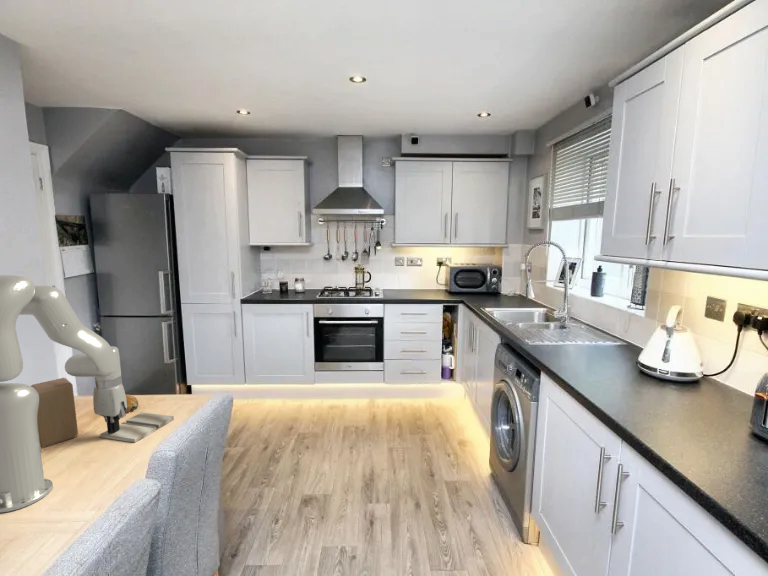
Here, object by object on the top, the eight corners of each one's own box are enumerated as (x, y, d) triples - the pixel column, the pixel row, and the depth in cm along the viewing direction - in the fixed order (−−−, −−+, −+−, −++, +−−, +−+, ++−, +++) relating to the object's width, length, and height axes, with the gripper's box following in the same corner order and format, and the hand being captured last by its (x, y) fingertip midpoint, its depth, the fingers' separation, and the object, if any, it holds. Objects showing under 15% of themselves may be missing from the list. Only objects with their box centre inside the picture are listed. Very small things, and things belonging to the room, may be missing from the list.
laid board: (157, 429, 139) (157, 425, 139) (124, 425, 143) (124, 421, 143) (173, 419, 147) (173, 416, 146) (142, 415, 150) (141, 412, 150)
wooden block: (71, 428, 141) (65, 376, 138) (79, 437, 134) (72, 382, 132) (35, 439, 133) (28, 384, 130) (41, 449, 127) (34, 391, 124)
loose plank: (134, 442, 130) (134, 438, 130) (100, 437, 134) (100, 433, 134) (156, 430, 139) (156, 426, 139) (123, 425, 142) (123, 422, 142)
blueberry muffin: (135, 412, 162) (130, 394, 163) (144, 407, 156) (139, 388, 157) (108, 420, 154) (103, 401, 155) (116, 416, 148) (111, 396, 149)
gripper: (81, 384, 131) (87, 434, 133) (115, 388, 127) (121, 439, 129) (102, 376, 138) (107, 424, 140) (135, 380, 134) (140, 429, 137)
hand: (113, 431), depth 135 cm, fingers closed
